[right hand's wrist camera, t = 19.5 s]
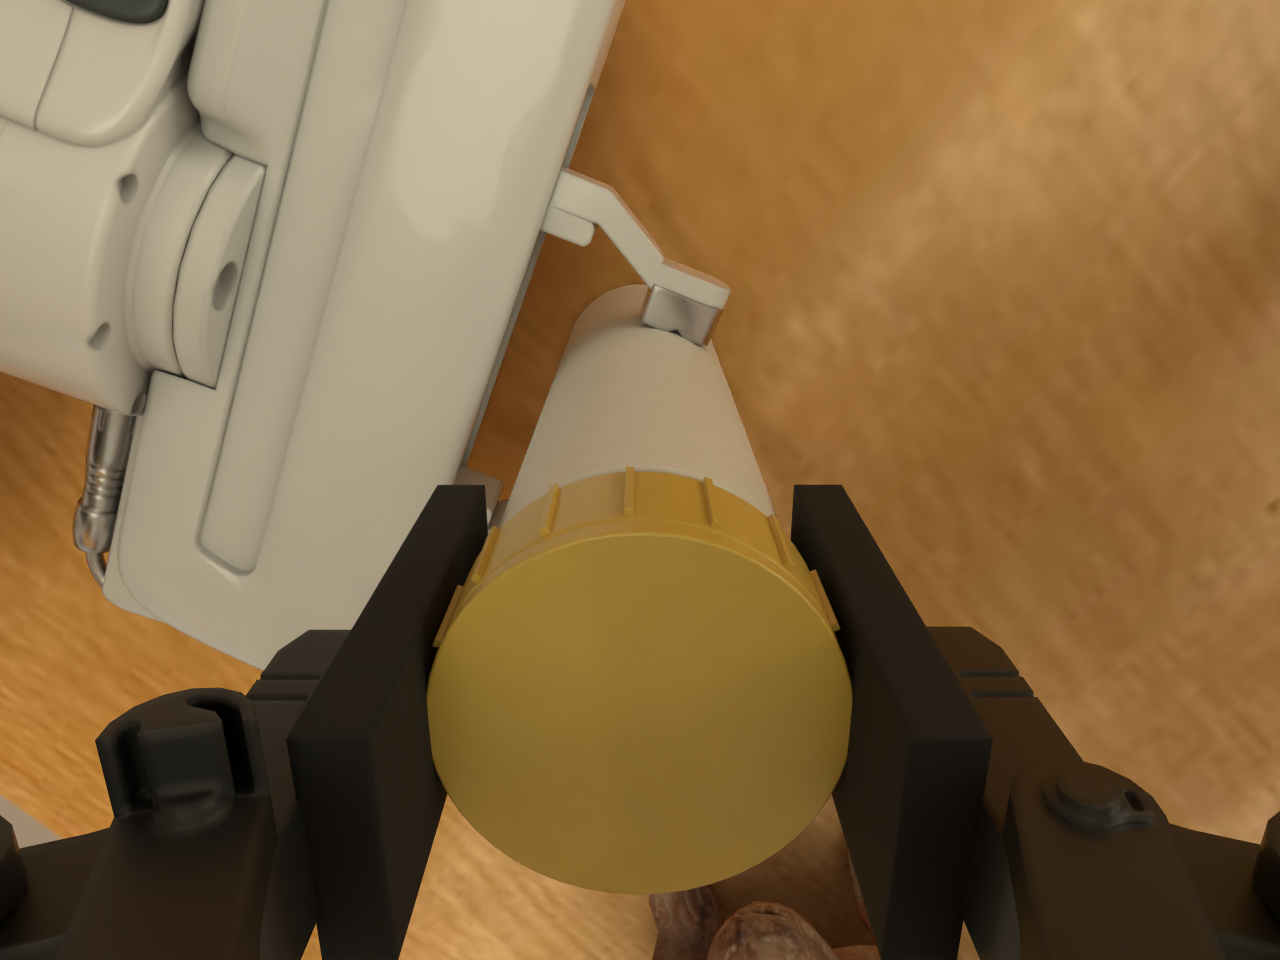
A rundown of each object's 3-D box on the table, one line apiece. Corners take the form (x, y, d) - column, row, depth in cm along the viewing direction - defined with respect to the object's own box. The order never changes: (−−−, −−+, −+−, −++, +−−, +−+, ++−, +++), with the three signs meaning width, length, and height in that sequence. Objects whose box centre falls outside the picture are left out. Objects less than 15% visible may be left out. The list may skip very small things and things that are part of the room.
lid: (697, 842, 14) (706, 954, 12) (391, 693, 13) (348, 790, 11) (899, 583, 12) (948, 664, 10) (569, 393, 11) (555, 443, 9)
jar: (707, 277, 28) (824, 499, 10) (716, 420, 30) (830, 824, 12) (558, 290, 28) (422, 533, 10) (575, 432, 30) (482, 849, 12)
